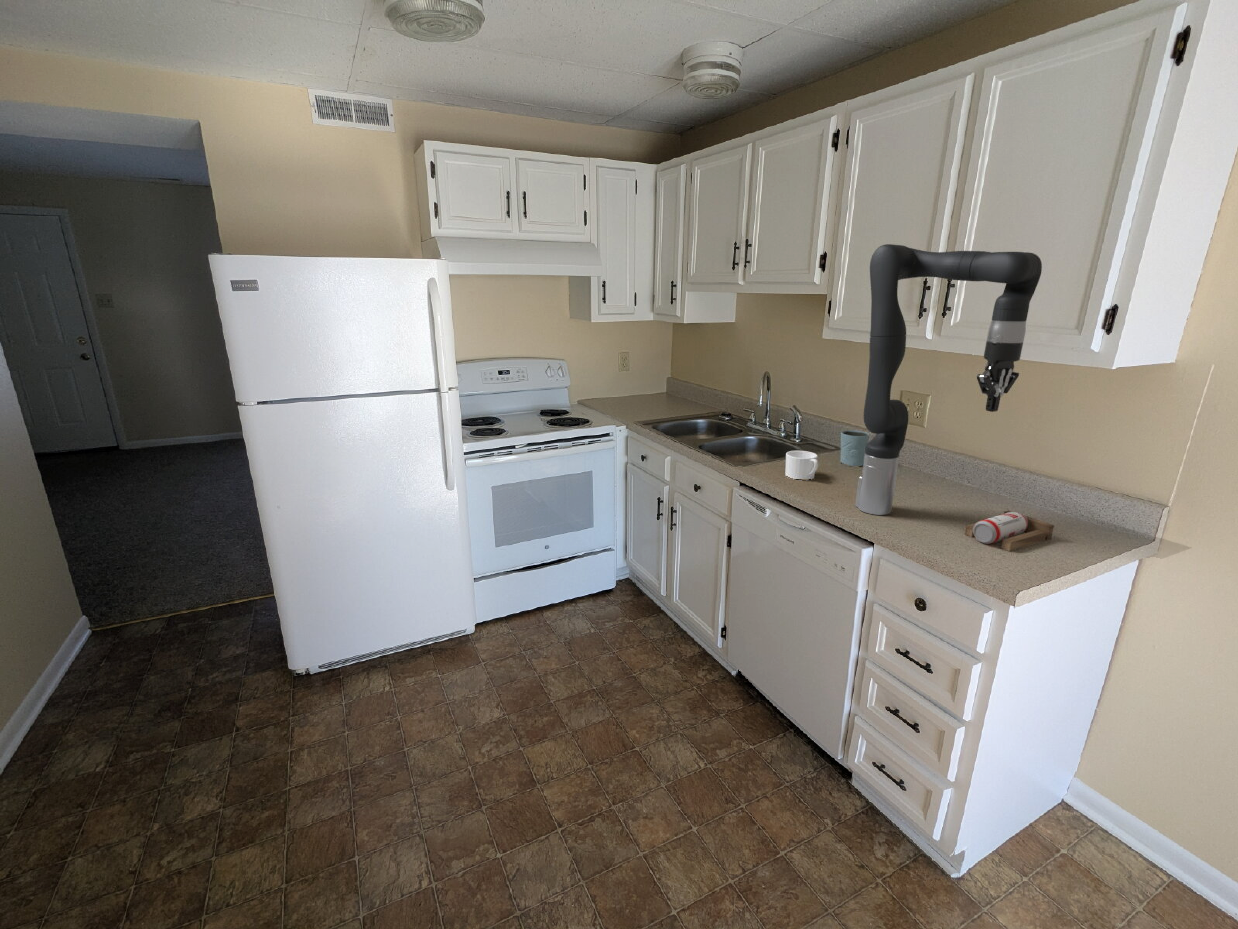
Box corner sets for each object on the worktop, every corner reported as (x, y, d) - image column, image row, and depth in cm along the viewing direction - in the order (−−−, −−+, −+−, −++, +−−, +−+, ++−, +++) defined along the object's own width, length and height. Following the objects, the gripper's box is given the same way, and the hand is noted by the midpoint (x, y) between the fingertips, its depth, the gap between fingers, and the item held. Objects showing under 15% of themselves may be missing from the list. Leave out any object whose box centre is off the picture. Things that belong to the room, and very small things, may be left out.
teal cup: (853, 469, 219) (857, 437, 215) (831, 462, 227) (835, 431, 224) (871, 465, 223) (875, 434, 220) (850, 458, 232) (853, 428, 228)
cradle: (964, 534, 160) (967, 520, 159) (1006, 523, 168) (1008, 510, 167) (1009, 551, 150) (1012, 537, 149) (1051, 539, 158) (1054, 525, 157)
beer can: (974, 545, 156) (1009, 534, 163) (998, 543, 151) (1033, 532, 158) (968, 522, 157) (1003, 512, 164) (991, 519, 151) (1026, 509, 159)
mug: (778, 474, 213) (779, 452, 210) (801, 470, 217) (803, 449, 214) (803, 485, 201) (805, 462, 199) (827, 481, 205) (829, 458, 203)
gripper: (1007, 337, 148) (993, 406, 153) (971, 339, 143) (959, 410, 148) (1038, 340, 142) (1023, 411, 147) (1002, 342, 136) (988, 416, 141)
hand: (991, 410), depth 147 cm, fingers closed
